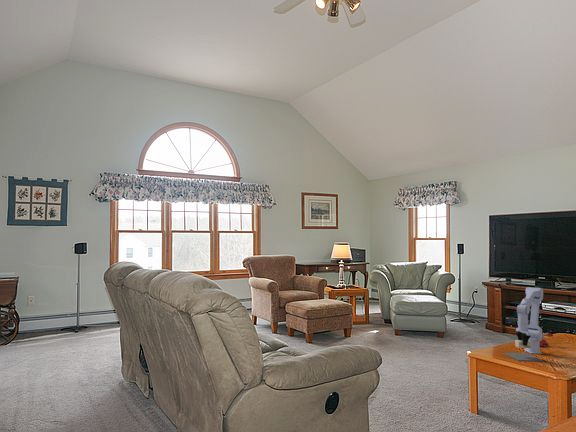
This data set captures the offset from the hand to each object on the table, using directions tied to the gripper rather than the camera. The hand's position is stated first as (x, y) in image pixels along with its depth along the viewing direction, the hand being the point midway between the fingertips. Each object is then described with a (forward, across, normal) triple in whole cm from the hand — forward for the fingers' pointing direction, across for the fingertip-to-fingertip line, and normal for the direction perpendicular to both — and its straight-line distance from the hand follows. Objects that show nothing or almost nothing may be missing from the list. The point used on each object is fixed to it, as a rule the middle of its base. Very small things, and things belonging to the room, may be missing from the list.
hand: (523, 344), depth 295 cm
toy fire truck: (+9, -35, +33) cm, 49 cm away
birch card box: (+2, 0, 0) cm, 2 cm away
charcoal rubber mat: (+8, 0, 0) cm, 8 cm away
